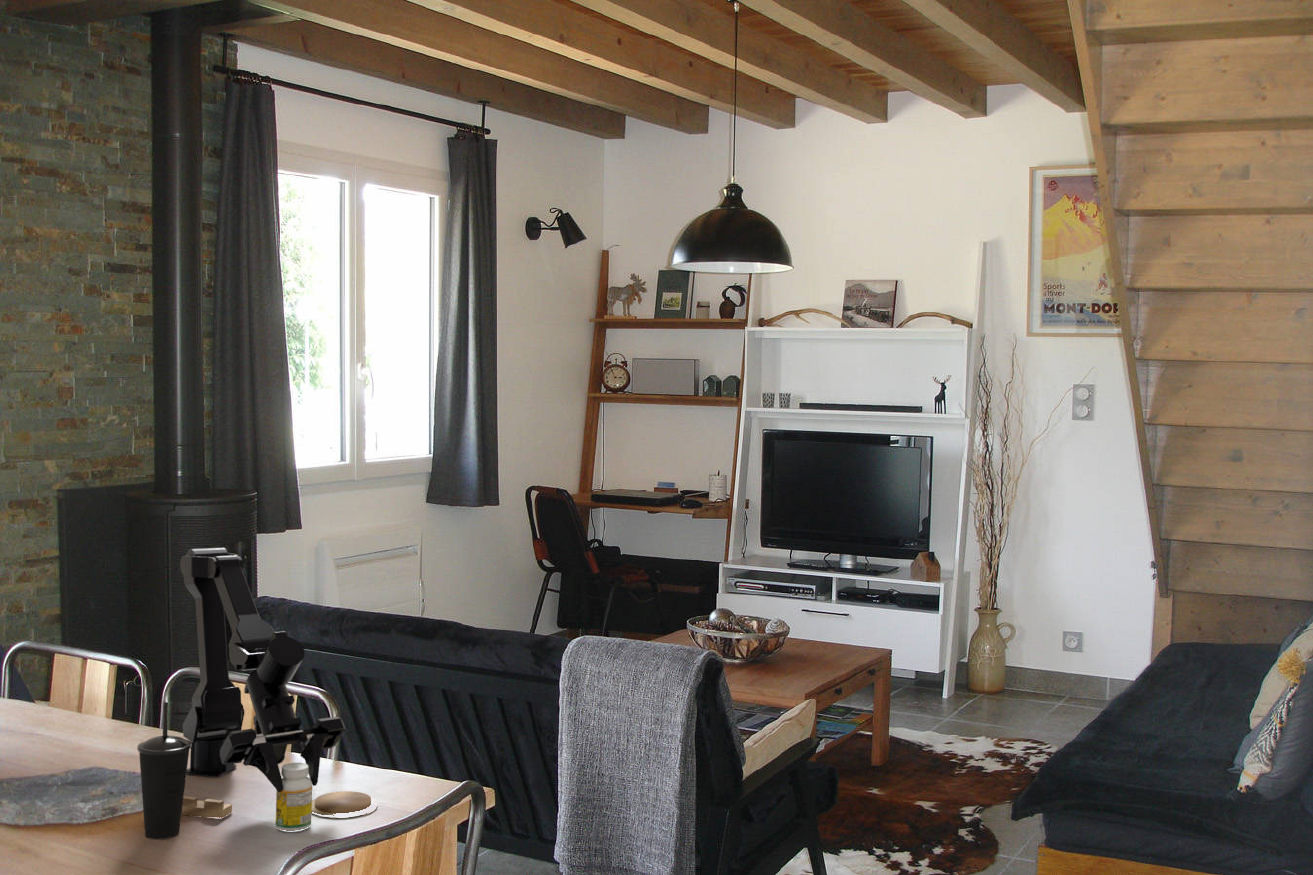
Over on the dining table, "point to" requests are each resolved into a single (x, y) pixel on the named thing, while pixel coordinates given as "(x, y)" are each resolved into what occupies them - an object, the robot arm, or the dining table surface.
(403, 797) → the dining table surface
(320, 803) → the base
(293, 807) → the supplement bottle
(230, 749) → the robot arm
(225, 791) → the dining table surface
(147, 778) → the drinking cup
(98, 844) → the dining table surface
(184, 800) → the notched board
